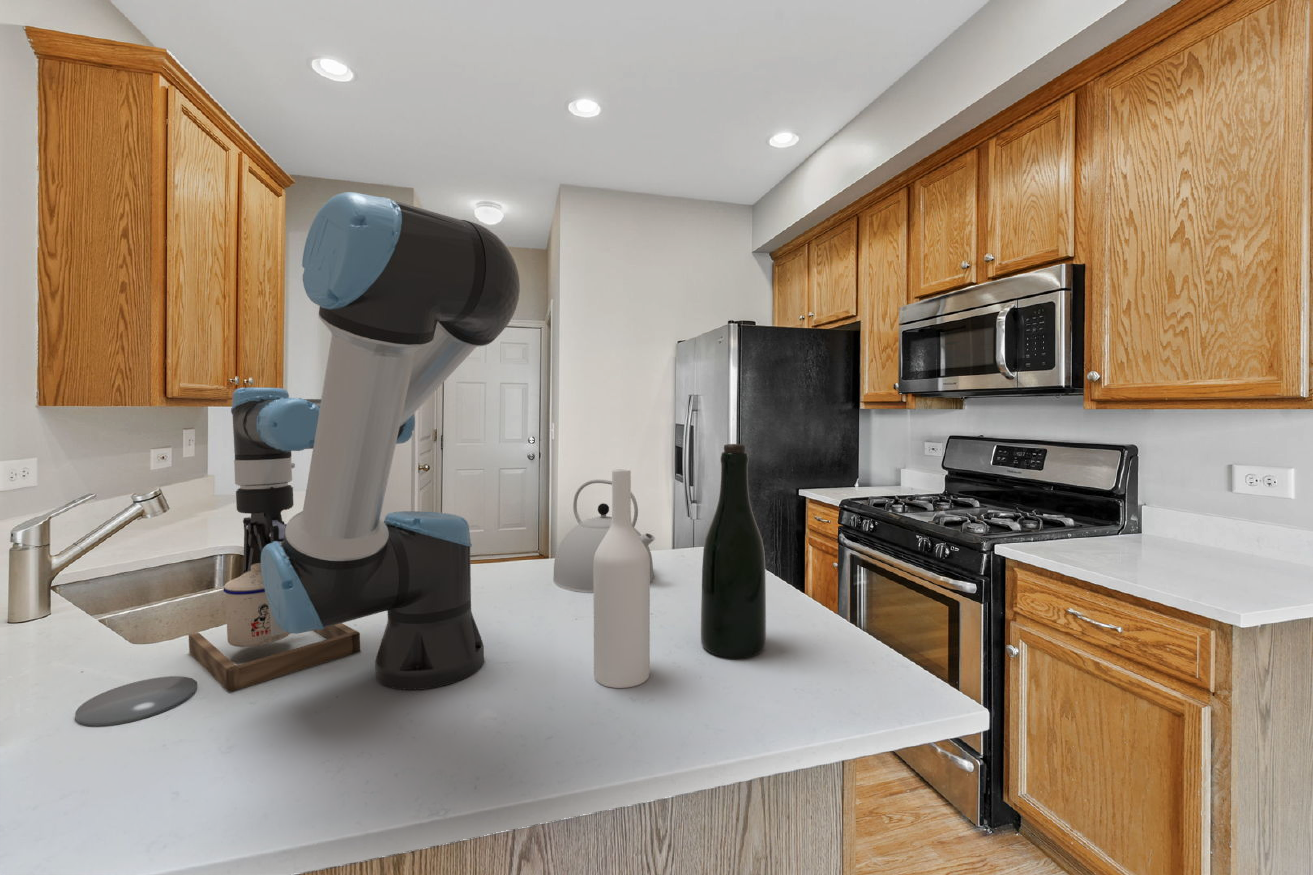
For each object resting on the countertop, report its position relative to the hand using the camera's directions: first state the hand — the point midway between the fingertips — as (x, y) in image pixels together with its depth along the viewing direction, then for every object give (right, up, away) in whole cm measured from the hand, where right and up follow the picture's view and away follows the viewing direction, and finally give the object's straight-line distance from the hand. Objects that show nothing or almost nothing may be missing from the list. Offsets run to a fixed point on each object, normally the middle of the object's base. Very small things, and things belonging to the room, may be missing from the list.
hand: (270, 626), depth 94 cm
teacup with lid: (0, -2, 0) cm, 2 cm away
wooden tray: (+1, -4, -1) cm, 4 cm away
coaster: (-7, -5, -16) cm, 18 cm away
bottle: (+57, -5, -9) cm, 58 cm away
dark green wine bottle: (+74, -4, +2) cm, 74 cm away
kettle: (+51, -2, +39) cm, 64 cm away
